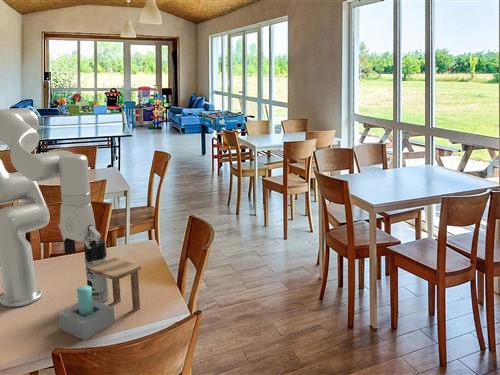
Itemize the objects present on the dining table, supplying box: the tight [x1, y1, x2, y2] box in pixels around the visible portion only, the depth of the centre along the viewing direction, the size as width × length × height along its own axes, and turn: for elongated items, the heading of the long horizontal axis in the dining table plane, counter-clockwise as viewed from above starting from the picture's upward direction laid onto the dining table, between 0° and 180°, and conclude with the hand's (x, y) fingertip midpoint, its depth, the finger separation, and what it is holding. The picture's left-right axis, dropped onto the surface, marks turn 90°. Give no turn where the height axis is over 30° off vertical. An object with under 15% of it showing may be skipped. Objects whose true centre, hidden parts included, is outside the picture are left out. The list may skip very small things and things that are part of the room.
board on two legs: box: [89, 257, 142, 311], centre depth 141 cm, size 12×10×15 cm
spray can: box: [83, 238, 110, 304], centre depth 148 cm, size 7×7×20 cm
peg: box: [76, 285, 94, 317], centre depth 132 cm, size 4×4×12 cm
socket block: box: [57, 300, 116, 341], centre depth 133 cm, size 11×11×5 cm
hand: (81, 256), depth 129 cm, fingers open, 9 cm apart
